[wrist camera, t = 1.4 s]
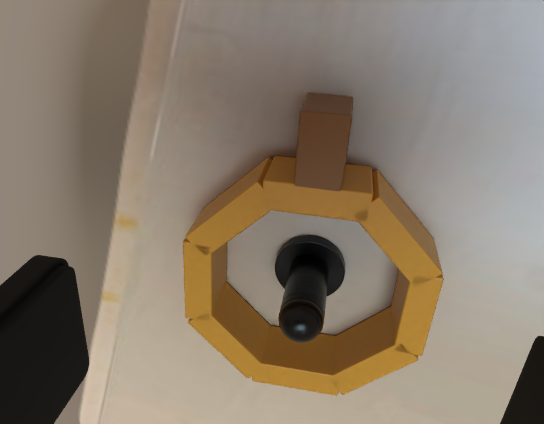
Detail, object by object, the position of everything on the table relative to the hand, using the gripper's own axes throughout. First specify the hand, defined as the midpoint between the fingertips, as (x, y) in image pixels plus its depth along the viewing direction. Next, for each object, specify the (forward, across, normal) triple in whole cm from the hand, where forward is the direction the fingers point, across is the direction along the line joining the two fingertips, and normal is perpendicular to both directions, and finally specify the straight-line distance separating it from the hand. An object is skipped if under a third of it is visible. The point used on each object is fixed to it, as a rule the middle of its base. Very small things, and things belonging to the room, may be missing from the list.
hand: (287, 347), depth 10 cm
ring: (+14, 0, +5) cm, 15 cm away
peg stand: (+14, 0, +7) cm, 15 cm away
